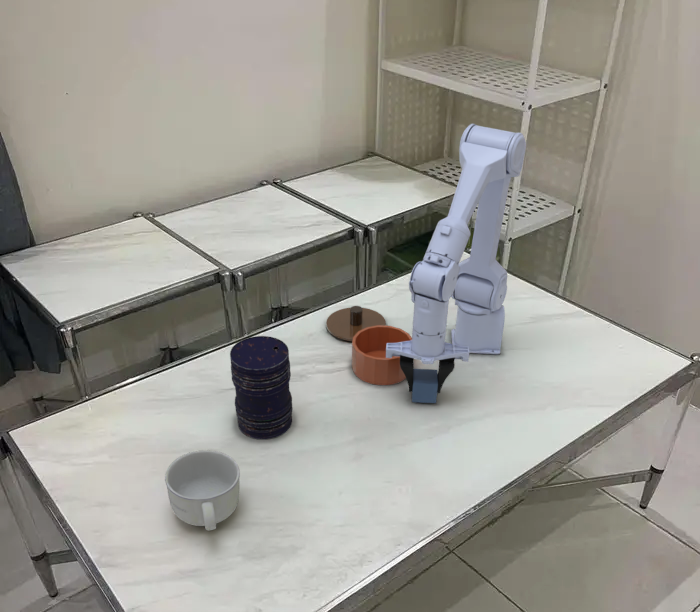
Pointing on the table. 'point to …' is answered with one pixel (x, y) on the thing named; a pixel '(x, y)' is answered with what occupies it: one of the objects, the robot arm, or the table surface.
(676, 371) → the table surface
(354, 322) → the lid
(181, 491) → the teacup
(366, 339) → the bowl
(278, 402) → the storage jar
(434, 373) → the block
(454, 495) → the table surface
